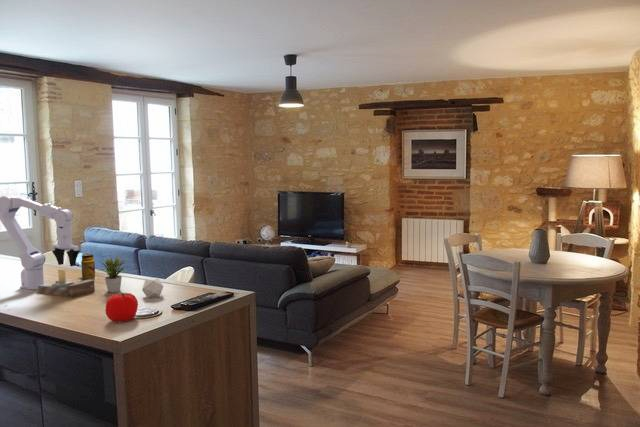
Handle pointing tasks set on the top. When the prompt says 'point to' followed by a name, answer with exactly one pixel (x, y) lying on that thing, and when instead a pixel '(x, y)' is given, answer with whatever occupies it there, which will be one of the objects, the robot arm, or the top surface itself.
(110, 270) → the house plant
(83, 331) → the top surface
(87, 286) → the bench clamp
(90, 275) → the condiment
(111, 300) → the tomato
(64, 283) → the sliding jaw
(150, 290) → the die
